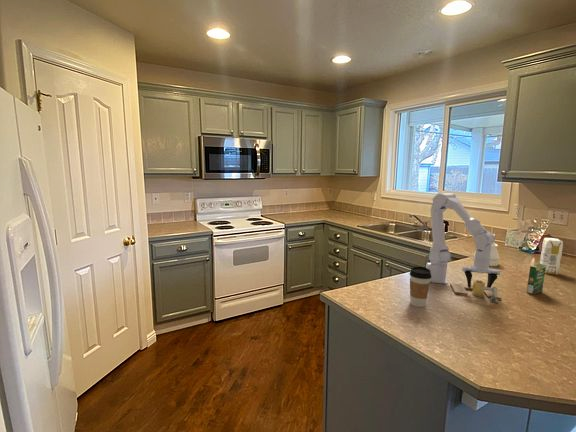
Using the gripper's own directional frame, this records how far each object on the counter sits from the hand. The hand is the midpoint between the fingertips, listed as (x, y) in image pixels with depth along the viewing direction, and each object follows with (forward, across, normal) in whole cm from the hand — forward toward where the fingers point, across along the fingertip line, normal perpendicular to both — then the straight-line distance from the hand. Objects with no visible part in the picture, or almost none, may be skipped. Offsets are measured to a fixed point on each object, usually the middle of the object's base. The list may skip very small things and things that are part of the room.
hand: (478, 288), depth 143 cm
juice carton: (+3, +47, +51) cm, 69 cm away
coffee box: (+3, +26, +12) cm, 29 cm away
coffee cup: (+3, -27, -21) cm, 34 cm away
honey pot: (+3, +18, +59) cm, 62 cm away
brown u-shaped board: (+3, -1, +2) cm, 4 cm away
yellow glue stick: (+3, 0, 0) cm, 3 cm away
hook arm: (+3, +3, -6) cm, 7 cm away
